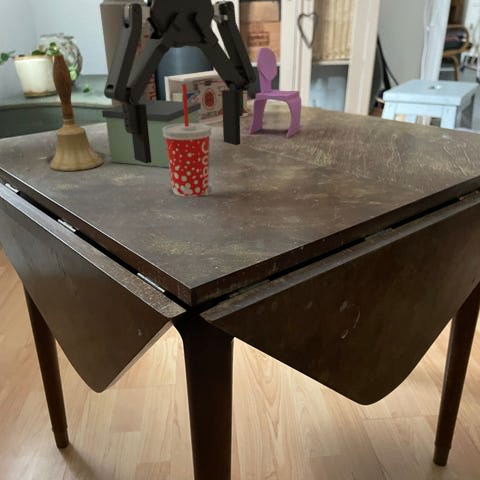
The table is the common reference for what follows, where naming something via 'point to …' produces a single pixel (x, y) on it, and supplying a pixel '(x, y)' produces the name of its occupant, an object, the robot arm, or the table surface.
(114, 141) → the storage box
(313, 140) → the table surface
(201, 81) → the cigarette display
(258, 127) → the toy chair
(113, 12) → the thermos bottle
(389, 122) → the table surface
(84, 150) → the hand bell
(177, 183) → the beverage cup
